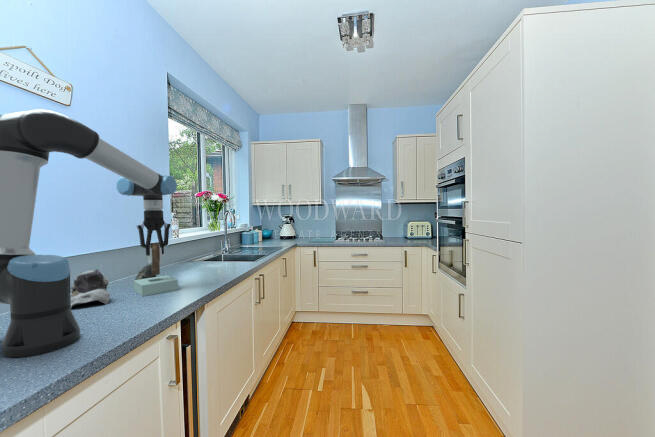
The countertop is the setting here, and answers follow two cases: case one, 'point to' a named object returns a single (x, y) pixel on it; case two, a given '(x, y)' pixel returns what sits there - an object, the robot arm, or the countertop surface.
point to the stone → (89, 288)
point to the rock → (145, 273)
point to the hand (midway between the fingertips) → (155, 262)
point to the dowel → (155, 259)
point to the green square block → (155, 285)
